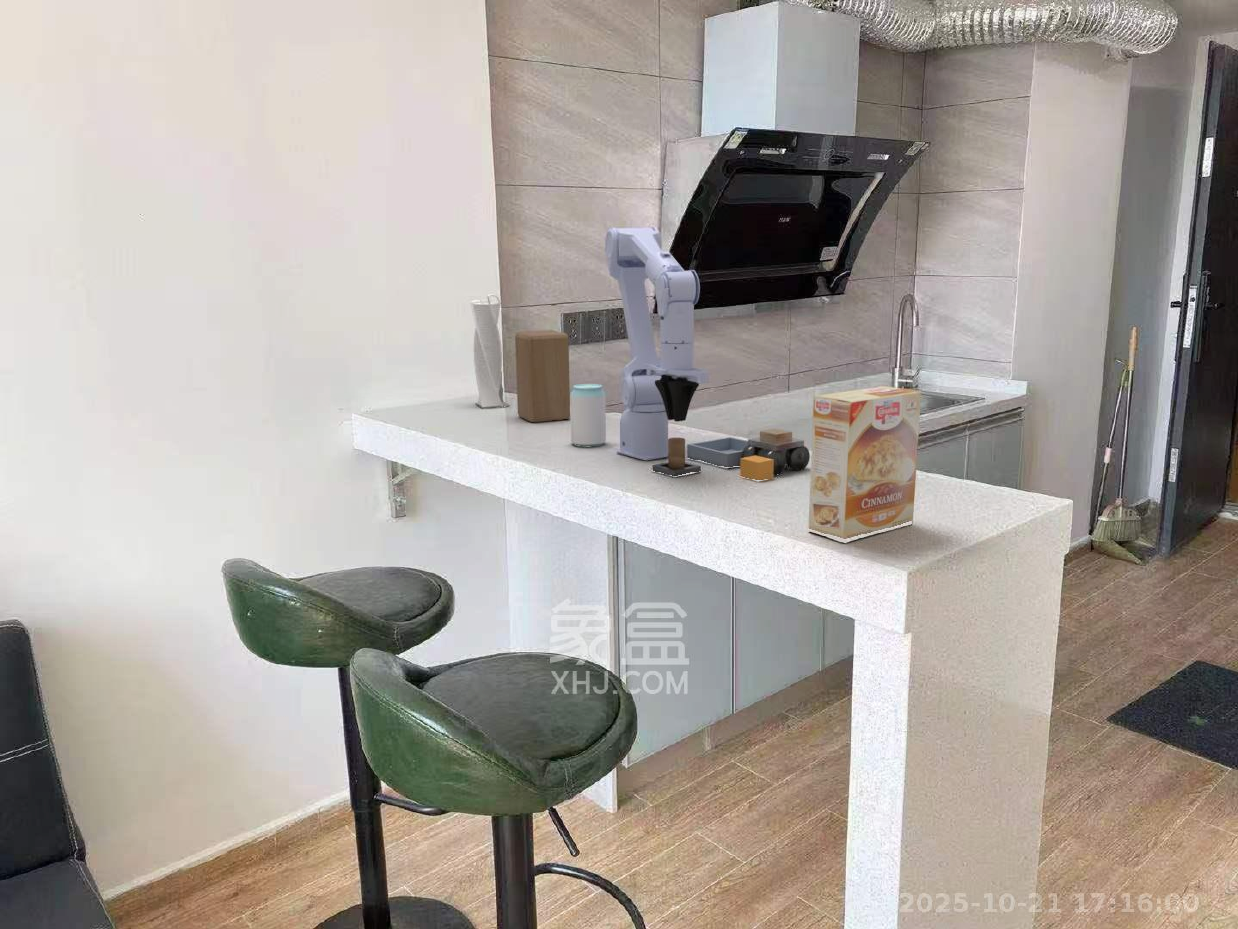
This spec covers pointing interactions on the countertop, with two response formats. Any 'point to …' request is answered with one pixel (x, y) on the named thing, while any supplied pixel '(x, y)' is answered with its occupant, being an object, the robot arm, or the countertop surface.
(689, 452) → the tray
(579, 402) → the can
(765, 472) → the block
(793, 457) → the trolley
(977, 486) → the countertop surface
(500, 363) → the skyscraper
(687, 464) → the socket ring
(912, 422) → the coffeecake box
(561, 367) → the block
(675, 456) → the pin
